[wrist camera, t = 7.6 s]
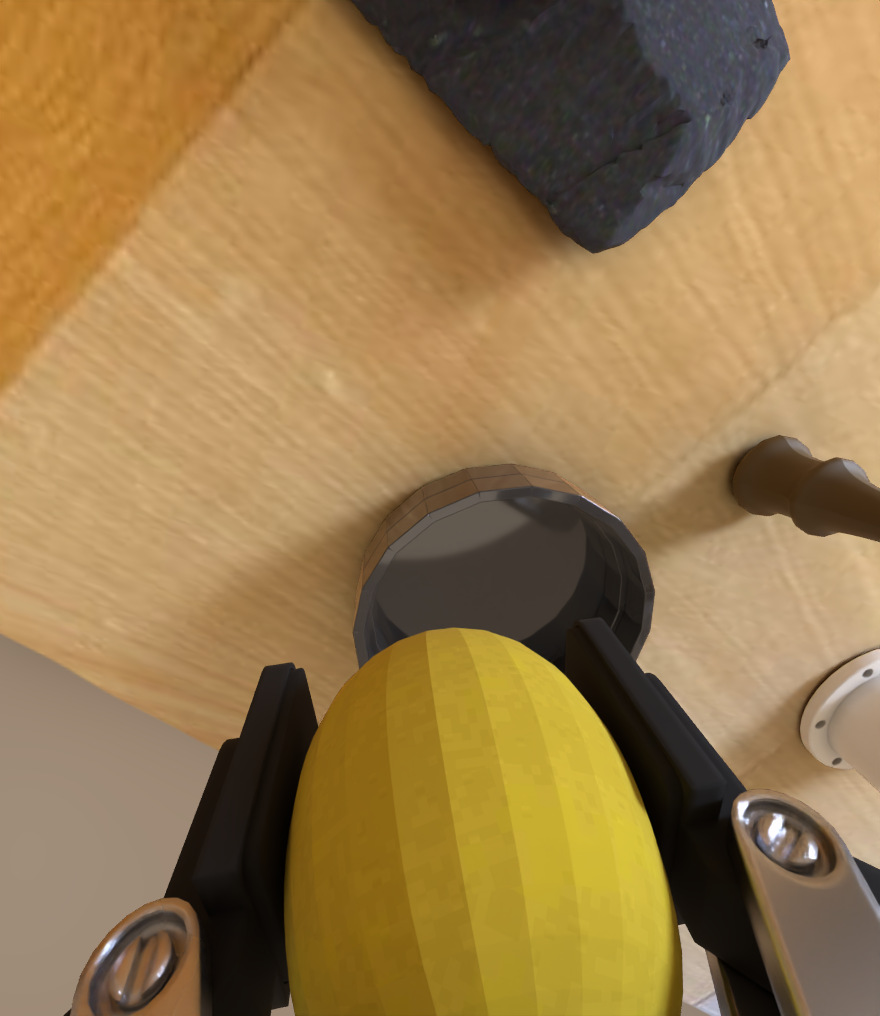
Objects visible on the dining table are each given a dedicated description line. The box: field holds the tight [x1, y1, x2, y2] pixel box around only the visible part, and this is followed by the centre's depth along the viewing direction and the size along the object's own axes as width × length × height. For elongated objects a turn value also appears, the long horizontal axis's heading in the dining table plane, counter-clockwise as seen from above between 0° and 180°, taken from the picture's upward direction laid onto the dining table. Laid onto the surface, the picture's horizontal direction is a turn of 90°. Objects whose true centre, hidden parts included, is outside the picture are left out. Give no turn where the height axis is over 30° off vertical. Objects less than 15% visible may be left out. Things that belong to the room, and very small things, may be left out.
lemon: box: [284, 628, 683, 1016], centre depth 7 cm, size 6×6×8 cm
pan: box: [353, 464, 655, 675], centre depth 28 cm, size 17×17×4 cm
